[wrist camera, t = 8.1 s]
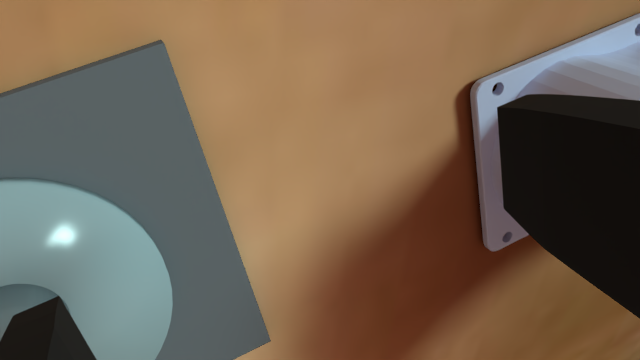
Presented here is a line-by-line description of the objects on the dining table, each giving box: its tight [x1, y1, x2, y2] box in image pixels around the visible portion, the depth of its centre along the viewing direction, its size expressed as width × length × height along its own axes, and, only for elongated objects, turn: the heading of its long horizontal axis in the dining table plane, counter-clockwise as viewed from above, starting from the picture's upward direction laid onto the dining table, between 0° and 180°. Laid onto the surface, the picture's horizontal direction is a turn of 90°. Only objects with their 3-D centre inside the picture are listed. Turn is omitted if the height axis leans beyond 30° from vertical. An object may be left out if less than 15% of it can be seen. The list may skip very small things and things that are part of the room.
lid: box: [0, 177, 173, 360], centre depth 17 cm, size 9×9×4 cm
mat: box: [0, 40, 271, 360], centre depth 18 cm, size 14×12×1 cm
